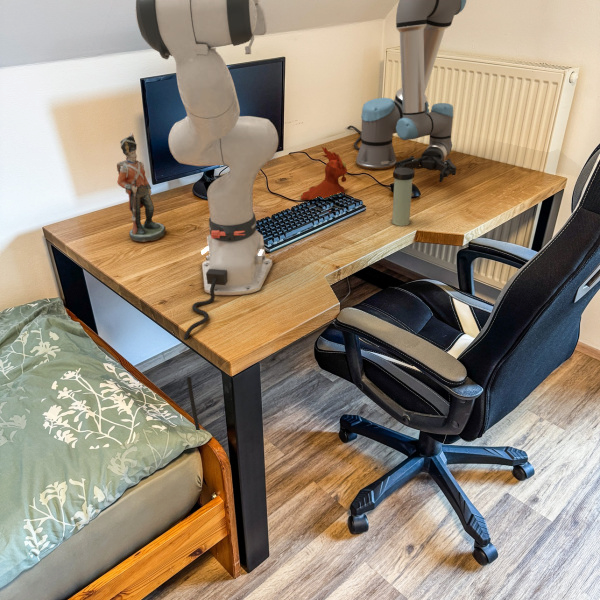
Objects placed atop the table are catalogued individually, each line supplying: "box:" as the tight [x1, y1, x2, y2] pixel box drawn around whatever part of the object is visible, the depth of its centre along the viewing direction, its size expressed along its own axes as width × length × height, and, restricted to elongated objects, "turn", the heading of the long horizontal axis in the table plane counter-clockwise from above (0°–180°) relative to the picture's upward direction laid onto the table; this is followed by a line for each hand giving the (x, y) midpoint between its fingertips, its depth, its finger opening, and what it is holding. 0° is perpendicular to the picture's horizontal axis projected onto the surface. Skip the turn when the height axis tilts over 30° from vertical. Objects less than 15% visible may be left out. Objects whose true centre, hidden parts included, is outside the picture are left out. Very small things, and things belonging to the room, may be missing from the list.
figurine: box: [116, 132, 166, 243], centre depth 161 cm, size 11×11×30 cm
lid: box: [392, 168, 416, 180], centre depth 162 cm, size 6×6×2 cm
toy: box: [300, 146, 348, 201], centre depth 188 cm, size 13×18×15 cm
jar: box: [391, 177, 413, 227], centre depth 166 cm, size 5×5×16 cm
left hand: (231, 54), depth 151 cm, fingers open, 8 cm apart
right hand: (419, 176), depth 180 cm, fingers open, 13 cm apart
